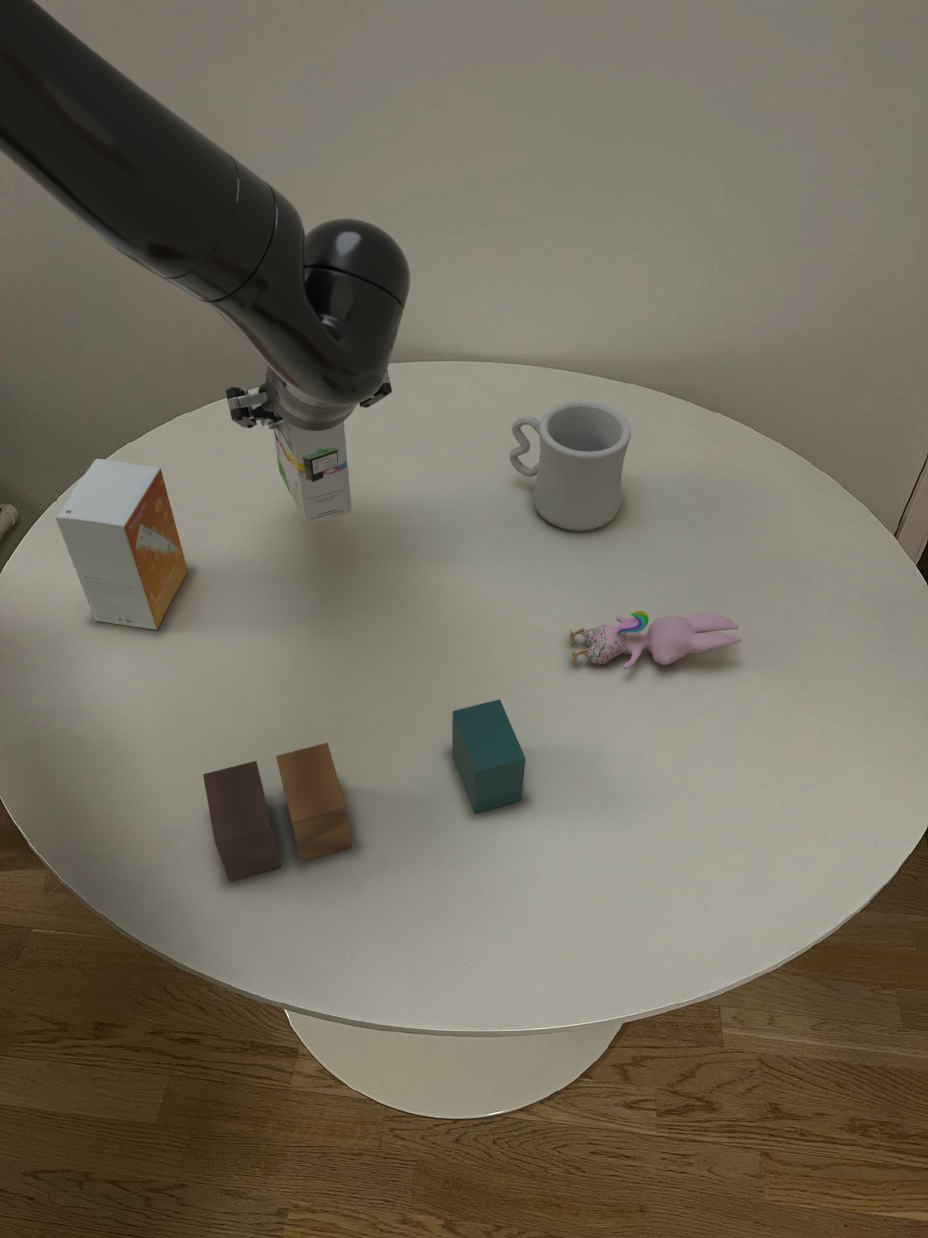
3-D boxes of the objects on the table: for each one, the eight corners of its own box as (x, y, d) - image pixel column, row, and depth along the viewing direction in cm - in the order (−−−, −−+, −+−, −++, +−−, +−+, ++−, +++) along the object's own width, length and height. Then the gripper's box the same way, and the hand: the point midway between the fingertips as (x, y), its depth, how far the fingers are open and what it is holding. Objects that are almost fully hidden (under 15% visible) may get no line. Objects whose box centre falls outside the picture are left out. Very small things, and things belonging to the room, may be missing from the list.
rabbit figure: (575, 690, 90) (745, 672, 88) (570, 647, 85) (749, 627, 84) (569, 637, 94) (732, 619, 92) (564, 594, 90) (735, 574, 88)
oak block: (300, 862, 77) (291, 821, 72) (285, 798, 81) (275, 755, 76) (351, 848, 78) (345, 807, 73) (334, 785, 81) (327, 742, 77)
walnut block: (228, 882, 76) (214, 842, 71) (216, 816, 79) (202, 773, 75) (281, 867, 76) (270, 827, 72) (266, 802, 80) (256, 760, 76)
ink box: (277, 472, 100) (262, 370, 91) (325, 460, 101) (314, 359, 92) (304, 526, 94) (290, 423, 86) (354, 512, 96) (345, 410, 87)
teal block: (474, 814, 80) (476, 772, 75) (451, 754, 84) (452, 710, 79) (521, 801, 81) (526, 758, 76) (497, 742, 84) (500, 698, 80)
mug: (632, 492, 106) (646, 415, 98) (599, 545, 100) (611, 467, 93) (526, 457, 110) (531, 380, 102) (489, 506, 104) (491, 428, 97)
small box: (158, 631, 92) (124, 527, 83) (93, 622, 93) (51, 517, 83) (190, 570, 98) (161, 465, 88) (129, 561, 98) (93, 456, 89)
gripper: (398, 309, 78) (369, 359, 94) (211, 338, 74) (214, 384, 91) (419, 405, 78) (385, 438, 95) (234, 438, 75) (233, 466, 92)
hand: (302, 412), depth 93 cm, fingers closed on ink box, 5 cm apart
